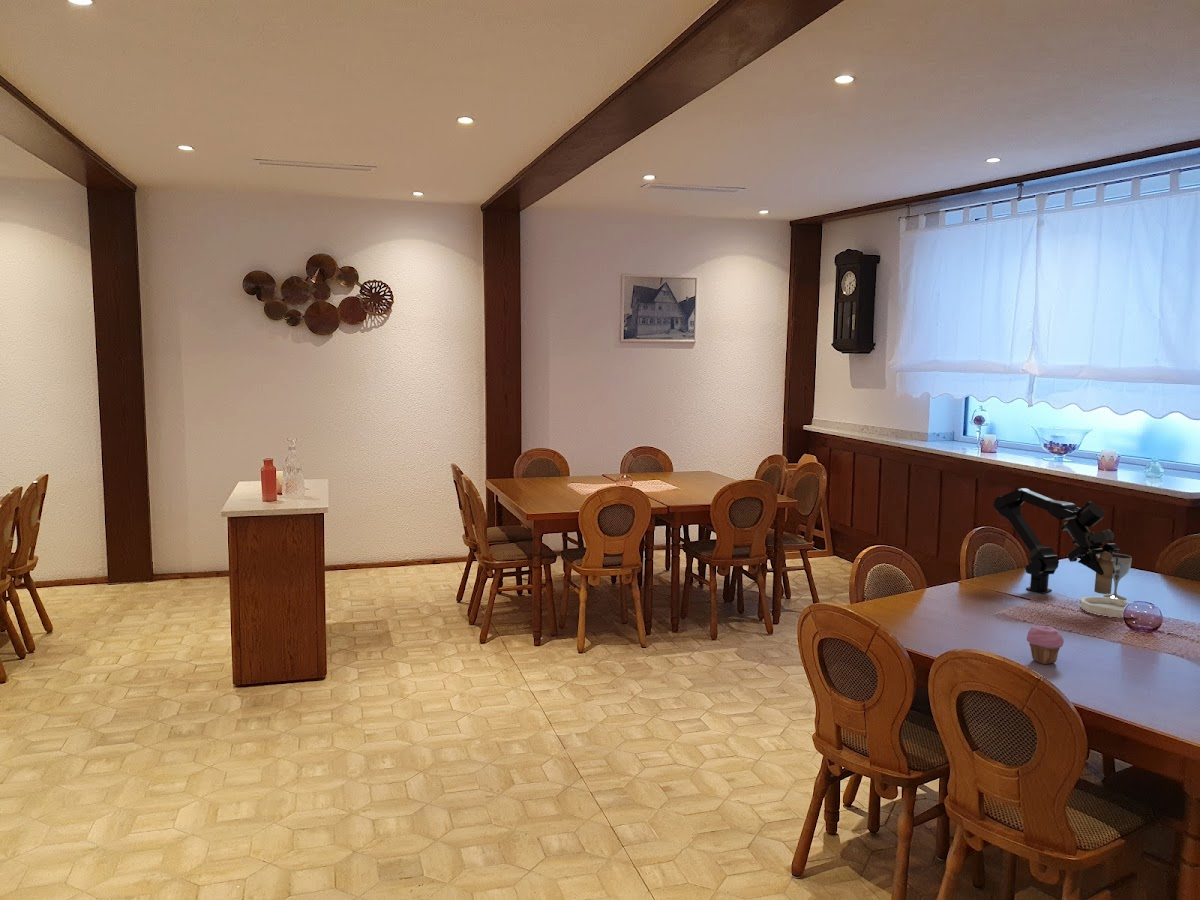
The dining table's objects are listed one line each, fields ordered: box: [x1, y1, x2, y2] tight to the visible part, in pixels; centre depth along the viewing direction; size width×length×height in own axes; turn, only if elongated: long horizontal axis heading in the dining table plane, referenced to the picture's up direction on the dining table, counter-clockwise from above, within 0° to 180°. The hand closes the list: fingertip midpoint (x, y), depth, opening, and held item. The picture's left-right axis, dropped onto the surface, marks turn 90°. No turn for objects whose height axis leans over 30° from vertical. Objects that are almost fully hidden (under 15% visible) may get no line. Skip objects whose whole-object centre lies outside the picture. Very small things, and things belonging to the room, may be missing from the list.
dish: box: [1079, 595, 1131, 618], centre depth 289 cm, size 16×16×3 cm
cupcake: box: [1026, 625, 1065, 665], centre depth 237 cm, size 9×9×10 cm
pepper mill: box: [1093, 552, 1114, 595], centre depth 290 cm, size 5×5×14 cm
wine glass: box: [1102, 552, 1133, 601], centre depth 306 cm, size 8×8×15 cm
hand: (1108, 573), depth 288 cm, fingers closed on pepper mill, 5 cm apart
